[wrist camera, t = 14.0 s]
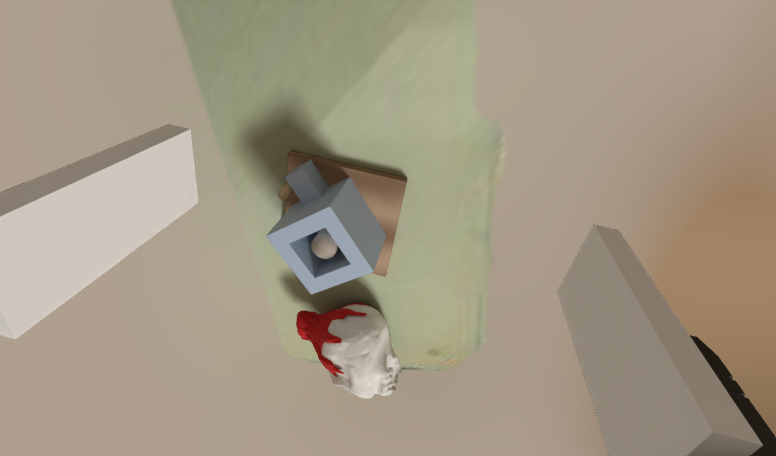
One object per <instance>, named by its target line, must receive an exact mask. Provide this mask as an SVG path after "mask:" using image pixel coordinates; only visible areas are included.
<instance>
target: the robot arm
mask: <svg viewBox="0 0 776 456" xmlns="http://www.w3.org/2000/svg"><path fill="white" fill-rule="evenodd" d="M197 203H198V197H197V187H196V178H195V168H194V159H193V150H192V141H191V132H190V129H187V128H183V127H179V126H174V125H170V124H167V125H165V126H162V127H160V128H158V129H155V130H153V131H150V132H148V133H145V134H143V135H140V136H138V137H136V138H133V139H131V140H128V141H126V142H123V143H121V144H118V145H116V146H114V147H111V148H109V149H106V150H104V151H101V152H99V153H96V154H94V155H92V156H89V157H87V158H84V159H82V160H79V161H77V162H74V163H72V164H69V165H67V166H65V167H62V168H60V169H57V170H55V171H52V172H50V173H47V174H45V175H43V176H40V177H38V178H35V179H33V180H30V181H28V182H25V183H22V184H20V185H17V186H15V187H12V188H10V189H8V190H5V191H3V192H1V193H0V335H2V336H5V337H9V338H13V339H16V338H18V337H19V336H20V335H22V334H23V333H24V332H25V331H27V330H28V329H30V328H31V327H32V326H34V325H35V324H36V323H38V322H39V321H40V320H42V319H43V318H44V317H46V316H47V315H48V314H50V313H51V312H52V311H54V310H55V309H56V308H58V307H59V306H60V305H62V304H63V303H64V302H66V301H67V300H68V299H70V298H71V297H72V296H74V295H75V294H76V293H78V292H79V291H80V290H82V289H83V288H85V287H86V286H87V285H89V284H90V283H91V282H93V281H94V280H95V279H97V278H98V277H99V276H100V275H102V274H103V273H104V272H106V271H107V270H109V269H110V268H111V267H113V266H114V265H115V264H117V263H118V262H119V261H121V260H122V259H123V258H125V257H126V256H127V255H129V254H130V253H131V252H133V251H134V250H135V249H137V248H138V247H139V246H141V245H142V244H143V243H145V242H146V241H147V240H149V239H150V238H151V237H153V236H154V235H155V234H157V233H158V232H159V231H161V230H162V229H164V228H165V227H166V226H167V225H169V224H170V223H171V222H173V221H174V220H176V219H177V218H178V217H179V216H181V215H182V214H184V213H185V212H186V211H188V210H189V209H190V208H192V207H193V206H194V205H196V204H197ZM557 292H558V296H559V298H560V302H561V305H562V308H563V311H564V315H565V318H566V321H567V324H568V327H569V331H570V334H571V336H572V340H573V343H574V346H575V350H576V352H577V356H578V359H579V362H580V365H581V369H582V372H583V375H584V378H585V381H586V385H587V388H588V391H589V394H590V397H591V400H592V403H593V407H594V410H595V413H596V416H597V419H598V423H599V426H600V429H601V432H602V435H603V439H604V442H605V445H606V448H607V451H608V454H609V456H776V437H775V435H774V434H773V433H772V431H771V430H770V428H769V427H768V426H767V424H766V423H765V421H764V420H763V419H762V417H761V416H760V414H759V413H758V412H757V410H756V409H755V407H754V406H753V405H752V403H751V402H750V400H749V399H748V398H745V397H744V395H745V393H744V392H743V390H742V389H741V388H740V386H739V385H738V383H737V382H736V381H734V380H732V377H733V376H732V375H731V374H730V372H729V371H728V369H727V368H726V367H725V365H724V364H723V362H722V361H721V360H720V358H719V357H718V356H717V355H716V354H715V353H714V352H713V351H712V350H711V349H710V348H709V347H707V346H706V345H705V344H704V343H703V342H702V341H701V340H700V339H699V338H698V337H695V336H691V335H689V334H688V332H687V331H686V330H685V328H684V326H683V325H682V323H681V322H680V320H679V319H678V317H677V316H676V315H675V313H674V312H673V310H672V308H671V307H670V306H669V304H668V303H667V301H666V300H665V298H664V297H663V295H662V294H661V292H660V291H659V289H658V288H657V286H656V285H655V283H654V282H653V280H652V279H651V277H650V276H649V274H648V273H647V271H646V270H645V268H644V267H643V265H642V264H641V262H640V261H639V259H638V258H637V256H636V255H635V253H634V252H633V250H632V249H631V247H630V246H629V245H628V243H627V241H626V240H625V239H624V237H623V235H622V234H621V232H620V231H619V230H616V229H612V228H607V227H603V226H599V225H595V224H594V225H593V227H592V229H591V231H590V232H589V234H588V236H587V238H586V240H585V241H584V243H583V245H582V247H581V249H580V251H579V252H578V254H577V256H576V258H575V260H574V262H573V264H572V265H571V267H570V269H569V271H568V273H567V274H566V276H565V278H564V280H563V282H562V284H561V285H560V287H559V289H558V291H557Z"/></svg>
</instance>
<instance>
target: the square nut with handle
mask: <svg viewBox="0 0 776 456" xmlns="http://www.w3.org/2000/svg"><path fill="white" fill-rule="evenodd" d="M285 179H286V181H287V182H288V183H289V185H290V186H291V188H292V189H293V191H294V192H295V193H296V195H297V196H298V198H299V199H300V201H299V202H297V203H295V204H293V205H292V206H291V207H290V209H289V210H288V211H287V212H286V213H285V214H284V216H283V217H282V218H281V219H280V220H279V221H278V223H277V224H276V225H275V226H274V227H273V228H272V230H271V231H270V232H269V233H268V234H267V235H266V237H267V238H268V240H269V241H270V242H271V244H272V245H273V246H274V247H275V249H276V250H277V251H278V253H279V254H280V255H281V256H282V258H283V259H284V260H285V262H286V263H287V264H288V266H289V267H290V268H291V269H292V271H293V272H294V273H295V275H296V276H297V277H298V278H299V280H300V281H301V282H302V284H303V285H304V286H305V287H306V289H307V290H308V291H309V293H310V294H311V295H312V294H314V293H317V292H320V291H323V290H325V289H328V288H331V287H334V286H336V285H339V284H342V283H345V282H347V281H350V280H353V279H356V278H358V277H361V276H364V275H367V274H369V273H372V272H374V270H375V267H376V264H377V261H378V258H379V255H380V252H381V250H382V247H383V244H384V241H385V238H386V234H385V232H384V231H383V229H382V227H381V226H380V224H379V223H378V221H377V219H376V218H375V216H374V215H373V213H372V211H371V210H370V208H369V207H368V205H367V204H366V202H365V200H364V199H363V197H362V196H361V194H360V192H359V191H358V189H357V188H356V186H355V184H354V183H353V181H352V180H351V178H350V177H348V178H346V179H344V180H342V181H340V182H338V183H336V184H334V185H332V186H330V187H329V186H328V185H327V183H326V182H325V180H324V179H323V177H322V176H321V174H320V173H319V171H318V170H317V168H316V166H315V165H314V163H313V162H312V160H309V161H307V162H306V163H304V164H302V165H300V166H298V167H296V168H294V169H293V170H292V171H291V172H290V173H289V174H288V175H287V176H286V177H285ZM323 228H326V229H327V231H328V232H329V234H330V235H331V236H332V238H333V239H334V241H335V242H336V244H337V245H338V249H337V251H336V253H335V255H334V256H333V257H331V258H329V259H323V258H320V257H318V256H317V255H315V254H314V252H313V251H312V248H311V244H312V241H313V240H314V238H315V237H316V235H317V234H318V232H319V230H321V229H323Z"/></svg>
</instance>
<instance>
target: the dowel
mask: <svg viewBox="0 0 776 456" xmlns="http://www.w3.org/2000/svg"><path fill="white" fill-rule="evenodd" d="M293 192H294V191H293V189H292V188H291V186H290V185H289V183H288V182H287V183H286V184H285V185H284V186H283V187H282V188H281V189H280V190H279V191H278V196H279V197H280V198H281V199H283V200H286V199H288V198H289V197H290V196H291V195H292V193H293Z"/></svg>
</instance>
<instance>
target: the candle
mask: <svg viewBox="0 0 776 456" xmlns="http://www.w3.org/2000/svg"><path fill="white" fill-rule="evenodd" d="M369 306H370V305H368V304H364V303H352V304H348V305H346V306H344V307H342V308H339V309H337V310H332V311H329V312H327V313H326V314H317V313H316V312H309V311H300V312H299V313H298V314H297V322H296V326H297V329H298V330H297V332H298V334H299V335H300V336H301V338H302V339H304V340H309V341H311V342H312V344H313V346H314V348H315V350H316V352H317V354H318V358H319V360H320V361H321V363H322V364H323V365H324V366H325V368H326V369H328V370H329V372H330V374H331V379H332V381H333V384H334V385H335V386H340V387H343V388H345V389H347V390H348V391H350V392H352V393H353V394H355V395H357V396H359V397H361V398H371V397H372V396H373V394H376V393H377V394H380V395H383V396H386V395H394V391H395V390H396V387H394V386H393V385H397V384H398V380H396V379H398V378H399V375H398V374H401V370H399V369H400V368H401V366H400V362H399V358H398V356H397V355H396V354H395V352H394V350H393V348H392V347H391V342H390V335H389V329H388V326H387V322H386V321H385V319H384V318H383V316H382V315H381V314H380V313H379V312H378V311H377V310H376V309H374V308H372V307H369ZM396 373H397V374H396Z"/></svg>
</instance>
